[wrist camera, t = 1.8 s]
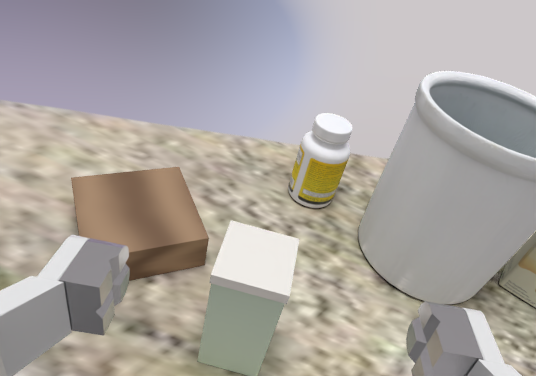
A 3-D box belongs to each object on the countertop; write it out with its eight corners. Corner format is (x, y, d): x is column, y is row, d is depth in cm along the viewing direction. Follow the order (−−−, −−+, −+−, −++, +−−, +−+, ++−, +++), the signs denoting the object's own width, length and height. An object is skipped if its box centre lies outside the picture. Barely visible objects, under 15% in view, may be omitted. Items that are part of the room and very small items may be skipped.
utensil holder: (419, 194, 54) (491, 66, 43) (515, 284, 44) (640, 151, 33) (327, 218, 47) (385, 72, 36) (419, 332, 37) (536, 183, 26)
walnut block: (86, 291, 34) (82, 260, 32) (75, 209, 41) (71, 177, 38) (204, 267, 39) (208, 238, 36) (176, 195, 45) (178, 166, 43)
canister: (257, 379, 31) (289, 296, 25) (195, 362, 31) (210, 274, 25) (268, 324, 35) (299, 239, 28) (213, 309, 35) (230, 220, 28)
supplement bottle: (341, 201, 49) (370, 132, 43) (307, 215, 46) (332, 142, 40) (312, 174, 52) (335, 105, 46) (278, 185, 49) (298, 113, 43)
